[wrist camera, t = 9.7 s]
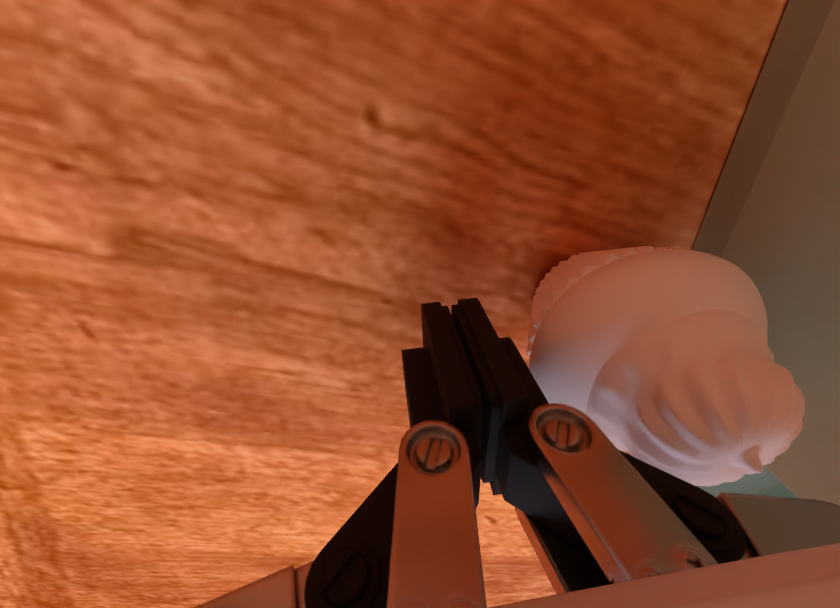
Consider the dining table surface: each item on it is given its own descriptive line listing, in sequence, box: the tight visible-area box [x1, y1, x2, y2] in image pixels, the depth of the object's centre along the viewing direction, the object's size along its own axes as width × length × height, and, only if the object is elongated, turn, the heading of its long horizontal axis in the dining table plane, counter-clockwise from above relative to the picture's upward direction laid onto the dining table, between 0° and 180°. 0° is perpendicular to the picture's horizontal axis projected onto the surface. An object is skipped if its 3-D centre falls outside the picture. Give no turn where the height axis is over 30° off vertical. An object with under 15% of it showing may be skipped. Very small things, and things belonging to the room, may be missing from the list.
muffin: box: [527, 246, 805, 486], centre depth 10 cm, size 6×6×7 cm
